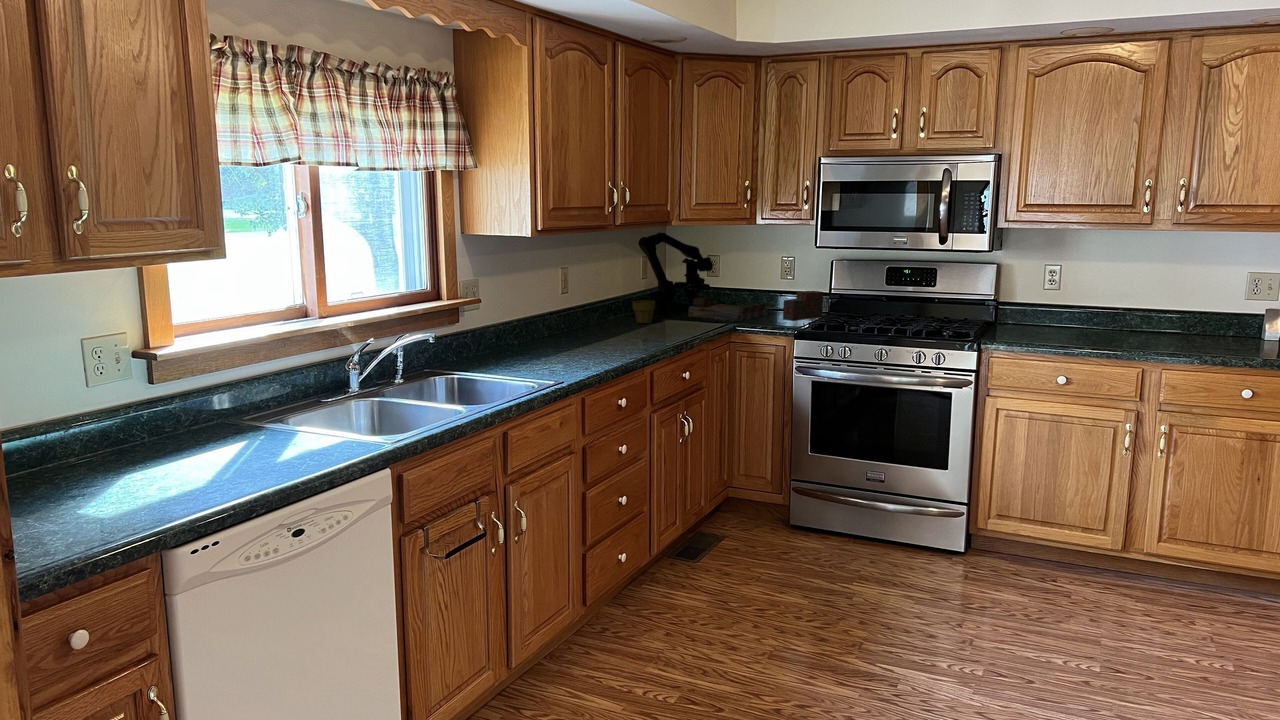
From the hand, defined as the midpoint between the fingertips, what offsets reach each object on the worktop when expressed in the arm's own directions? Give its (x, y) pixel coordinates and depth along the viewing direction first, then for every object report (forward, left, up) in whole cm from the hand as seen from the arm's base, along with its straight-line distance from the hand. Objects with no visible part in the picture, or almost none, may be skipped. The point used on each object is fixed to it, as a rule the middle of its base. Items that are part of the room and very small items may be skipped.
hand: (691, 303), depth 452 cm
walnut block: (0, -6, -1) cm, 6 cm away
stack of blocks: (+15, -54, -4) cm, 56 cm away
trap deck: (0, -18, -4) cm, 19 cm away
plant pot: (-44, -5, -4) cm, 45 cm away
